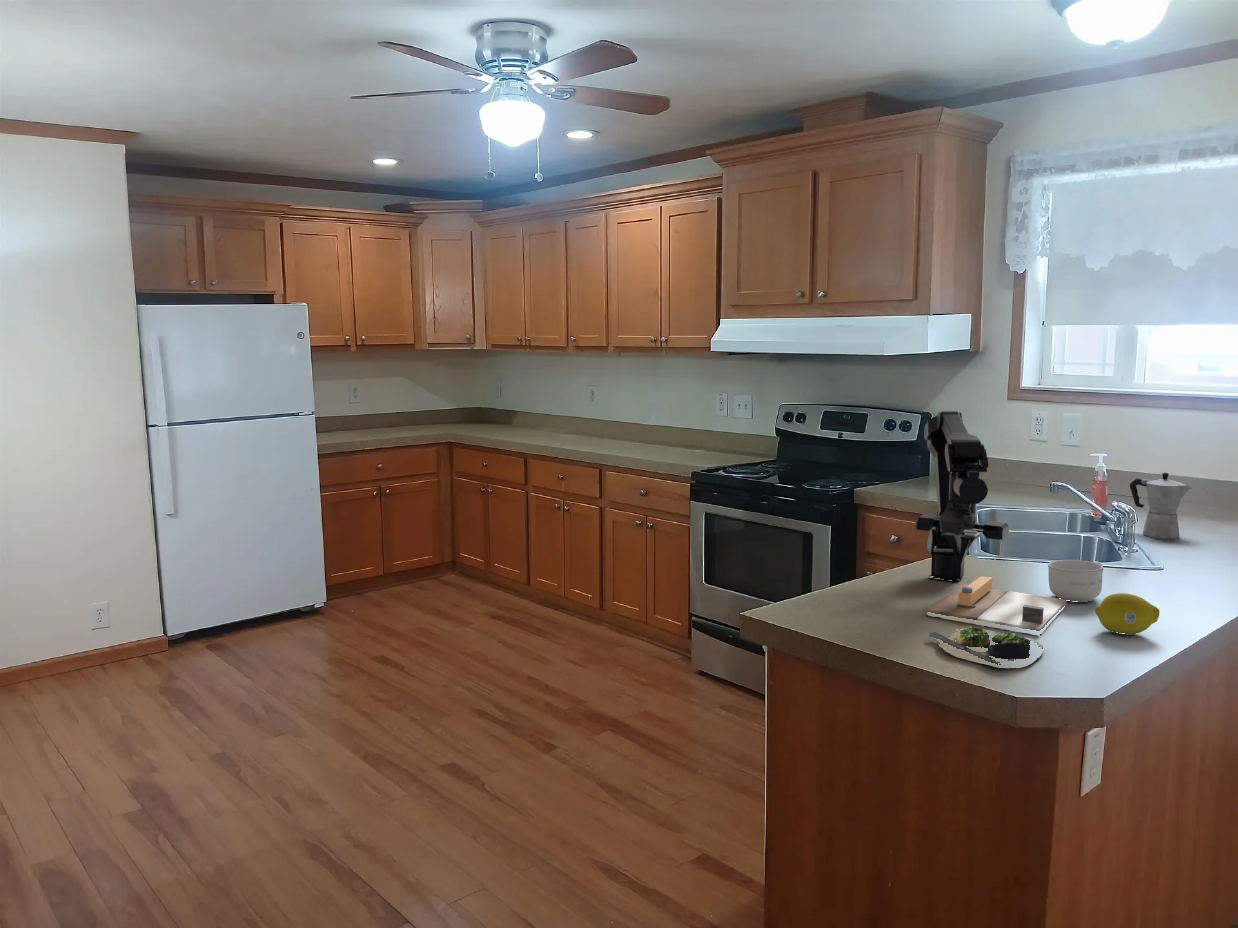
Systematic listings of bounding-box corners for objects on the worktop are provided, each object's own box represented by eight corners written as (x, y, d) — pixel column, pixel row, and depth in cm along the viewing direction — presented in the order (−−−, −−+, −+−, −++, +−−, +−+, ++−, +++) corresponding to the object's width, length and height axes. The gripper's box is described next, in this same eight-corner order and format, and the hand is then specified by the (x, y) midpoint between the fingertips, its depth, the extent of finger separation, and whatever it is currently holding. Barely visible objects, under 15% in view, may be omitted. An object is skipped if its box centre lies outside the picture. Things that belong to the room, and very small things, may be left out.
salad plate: (910, 653, 167) (910, 629, 167) (949, 629, 180) (950, 607, 180) (1016, 679, 154) (1018, 653, 154) (1051, 651, 167) (1052, 627, 167)
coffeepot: (1192, 536, 252) (1197, 473, 250) (1182, 542, 246) (1187, 477, 243) (1132, 528, 263) (1136, 467, 261) (1121, 533, 257) (1125, 471, 254)
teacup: (1071, 608, 191) (1073, 572, 189) (1035, 594, 201) (1036, 559, 200) (1124, 602, 194) (1127, 566, 193) (1086, 588, 205) (1088, 554, 203)
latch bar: (970, 606, 187) (971, 590, 186) (958, 604, 189) (958, 588, 188) (991, 588, 199) (992, 574, 199) (980, 586, 201) (980, 572, 200)
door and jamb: (926, 616, 187) (927, 595, 187) (961, 589, 205) (961, 570, 205) (1039, 636, 174) (1040, 614, 173) (1066, 606, 192) (1067, 586, 191)
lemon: (1091, 635, 174) (1094, 595, 173) (1095, 623, 181) (1098, 585, 180) (1156, 644, 169) (1159, 603, 167) (1158, 632, 175) (1161, 593, 174)
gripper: (907, 496, 197) (905, 565, 199) (996, 505, 186) (993, 578, 188) (925, 489, 206) (922, 555, 208) (1011, 497, 194) (1007, 567, 197)
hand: (959, 564), depth 200 cm, fingers closed
